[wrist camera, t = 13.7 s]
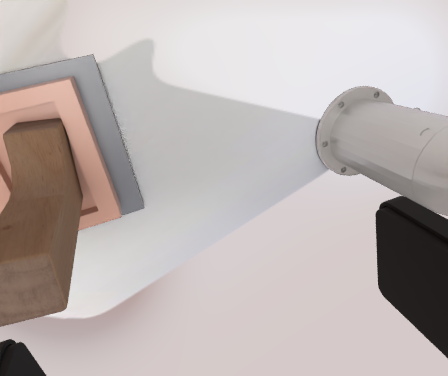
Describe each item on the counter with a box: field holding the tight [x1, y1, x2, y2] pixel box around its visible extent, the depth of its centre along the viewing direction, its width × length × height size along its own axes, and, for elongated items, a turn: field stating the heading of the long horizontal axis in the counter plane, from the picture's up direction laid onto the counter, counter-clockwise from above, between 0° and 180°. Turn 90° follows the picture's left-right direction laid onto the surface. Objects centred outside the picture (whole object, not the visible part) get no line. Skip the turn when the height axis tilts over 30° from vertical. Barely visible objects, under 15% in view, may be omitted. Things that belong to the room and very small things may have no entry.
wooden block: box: [0, 118, 83, 327], centre depth 27 cm, size 9×4×18 cm, turn 4°
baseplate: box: [0, 54, 144, 231], centre depth 36 cm, size 16×18×5 cm
